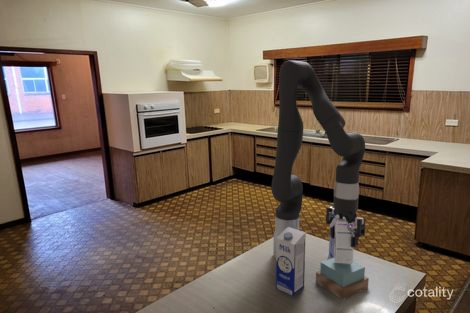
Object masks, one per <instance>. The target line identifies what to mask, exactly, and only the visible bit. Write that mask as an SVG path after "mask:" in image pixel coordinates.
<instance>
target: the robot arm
mask: <svg viewBox="0 0 470 313" xmlns="http://www.w3.org/2000/svg"><path fill="white" fill-rule="evenodd" d="M298 89H301V90H302V91H304V93H305V94H306V95H307V96H308V98H309V100H310V103H311V107H312V108H311V109H312V112H313V115H314V117H315V119H316V121H317V122H318V123H319V125H320V127H321V128H322V129H323V131H325V134H326V138H327V139H328V142H329V145H330V148H331V149H332V150H333V152H334V153H335V154H336V155H338V156H340V157H342V160H341V162H339V163H337V164H336V168H335V183H334V187H333V206H332V205H331V206H329V207H326V212H325V224H327V225H329V236H330V235H331V238H334V234H335V219H339V218H340V219H343V221H345V222H346V223H347V228H348V230H349V231H350V232H351V235H352V236H351V247H352V248H353V249H354V248H356V247H358V246H359V238H361V237H364V236H365V235H366V218H365V217H359V216H358V215H357V212H358V208H359V196H360V194H359V193H360V192H359V191H360V186H359V179H360V178H359V177H360V167H361V165H362V162H363V158H364V155H365V150H366V142H365V139H364V137H363V135H362V134H360V133H359V132H348V133H347V132H346V130H345V129H344V128H345V126H346V120H345V118H344V117H343V115H342V114H341V112H339V110H338V109H337V107H336V106H335V105H334V103H332V101H331V99H330V98H329V96H328V94H327V93H326V92H325V89H324V88H323V86H322V84H321V82H320V79H319V78H318V76H317V74H316V72H315V71H314V68H313V67H312V66H311V65H310V63H308V62H306V61H302V60H300V61H299V60H291V59H290V60H286V61H285V62H283V63H282V64H281V66H280V68H279V74H278V92H279V93H278V96H279V98H278V99H279V101H278V102H279V106H278V124H277V135H276V149H275V150H276V152H275V162H274V169H273V176H272V180H271V194H272V197H273V198H274V199H275V200H276V201H277V202H279V204H278V205H277V207H276V208H275V211H274V214H275V215H274V218H275V219H274V220H275V221H274V224H275V225H274V230H275V231H274V232H273V255H274V258H275V259H276V248H277V237H278V236H279V235H280V234H281V233H282V232H283V231H284V230H285V229H286V228H287V227H290V228H294V229H297V230H300V212H301V211H302V208H303V207H302V206H303V196H304V192H303V190H304V189H303V188H304V187H303V183H302V180H301V179H300V178H299V176H297V175H295V174H293V173H292V172H293V166H294V164H295V160H296V159H297V156H298V155H299V152H300V150H301V147H302V145H303V141H304V140H303V139H304V123H303V122H304V121H303V119H302V116H301V113H300V111H299V108H298V103H297V93H298V92H297V91H298ZM334 215H335V218H334ZM333 218H334V219H333ZM352 222H354V227H351V226H350V223H352ZM330 227H331V228H330ZM353 229H354V230H353Z"/></svg>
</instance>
